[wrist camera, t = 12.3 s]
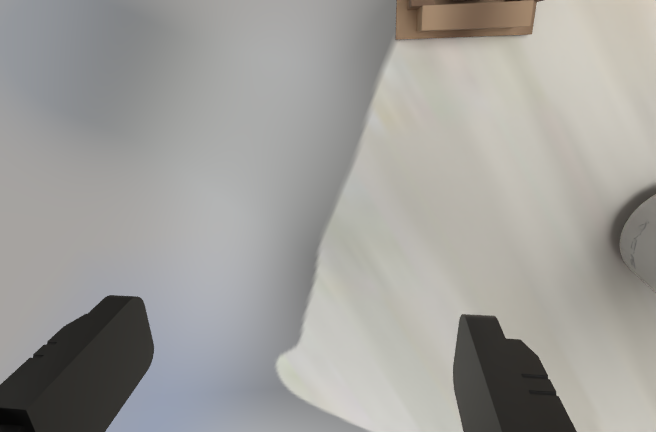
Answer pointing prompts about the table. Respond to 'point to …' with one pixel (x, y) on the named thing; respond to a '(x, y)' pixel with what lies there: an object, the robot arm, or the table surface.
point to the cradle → (463, 18)
